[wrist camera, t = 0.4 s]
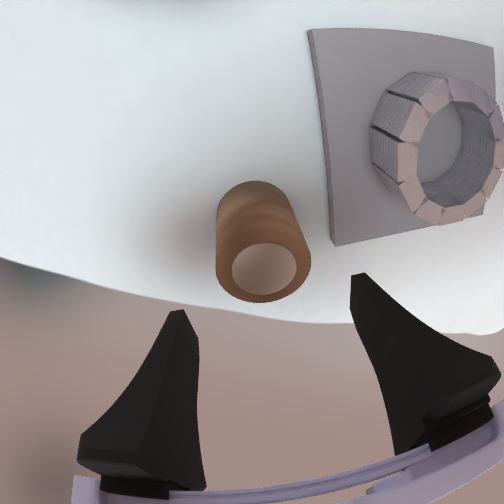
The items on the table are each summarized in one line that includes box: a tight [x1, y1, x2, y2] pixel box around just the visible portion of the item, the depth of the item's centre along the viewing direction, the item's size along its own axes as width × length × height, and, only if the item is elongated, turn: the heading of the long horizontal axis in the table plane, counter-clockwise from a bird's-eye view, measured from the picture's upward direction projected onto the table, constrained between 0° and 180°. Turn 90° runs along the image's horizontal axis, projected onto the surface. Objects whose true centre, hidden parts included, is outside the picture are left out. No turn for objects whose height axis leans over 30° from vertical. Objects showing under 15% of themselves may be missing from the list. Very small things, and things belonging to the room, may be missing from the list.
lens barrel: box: [369, 71, 504, 226], centre depth 15 cm, size 9×9×4 cm
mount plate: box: [307, 28, 495, 247], centre depth 16 cm, size 14×14×1 cm
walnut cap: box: [216, 181, 311, 303], centre depth 17 cm, size 5×5×6 cm
